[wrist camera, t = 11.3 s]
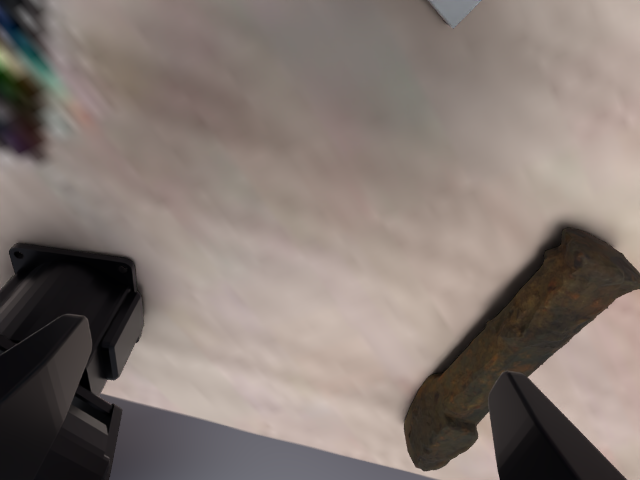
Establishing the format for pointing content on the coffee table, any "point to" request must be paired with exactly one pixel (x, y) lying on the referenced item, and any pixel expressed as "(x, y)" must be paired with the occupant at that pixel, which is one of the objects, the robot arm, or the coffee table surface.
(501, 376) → the robot arm
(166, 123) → the coffee table surface
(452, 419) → the hand tool
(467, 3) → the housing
